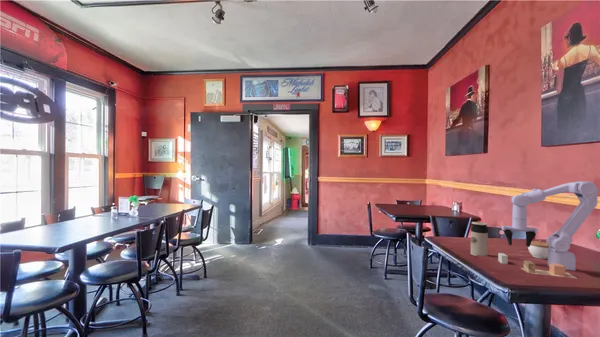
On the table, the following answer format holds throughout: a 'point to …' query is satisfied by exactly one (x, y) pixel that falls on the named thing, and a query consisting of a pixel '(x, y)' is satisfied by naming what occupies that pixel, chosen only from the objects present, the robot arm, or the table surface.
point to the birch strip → (530, 268)
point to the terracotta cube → (557, 269)
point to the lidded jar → (539, 249)
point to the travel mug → (479, 239)
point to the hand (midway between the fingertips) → (519, 245)
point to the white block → (502, 258)
